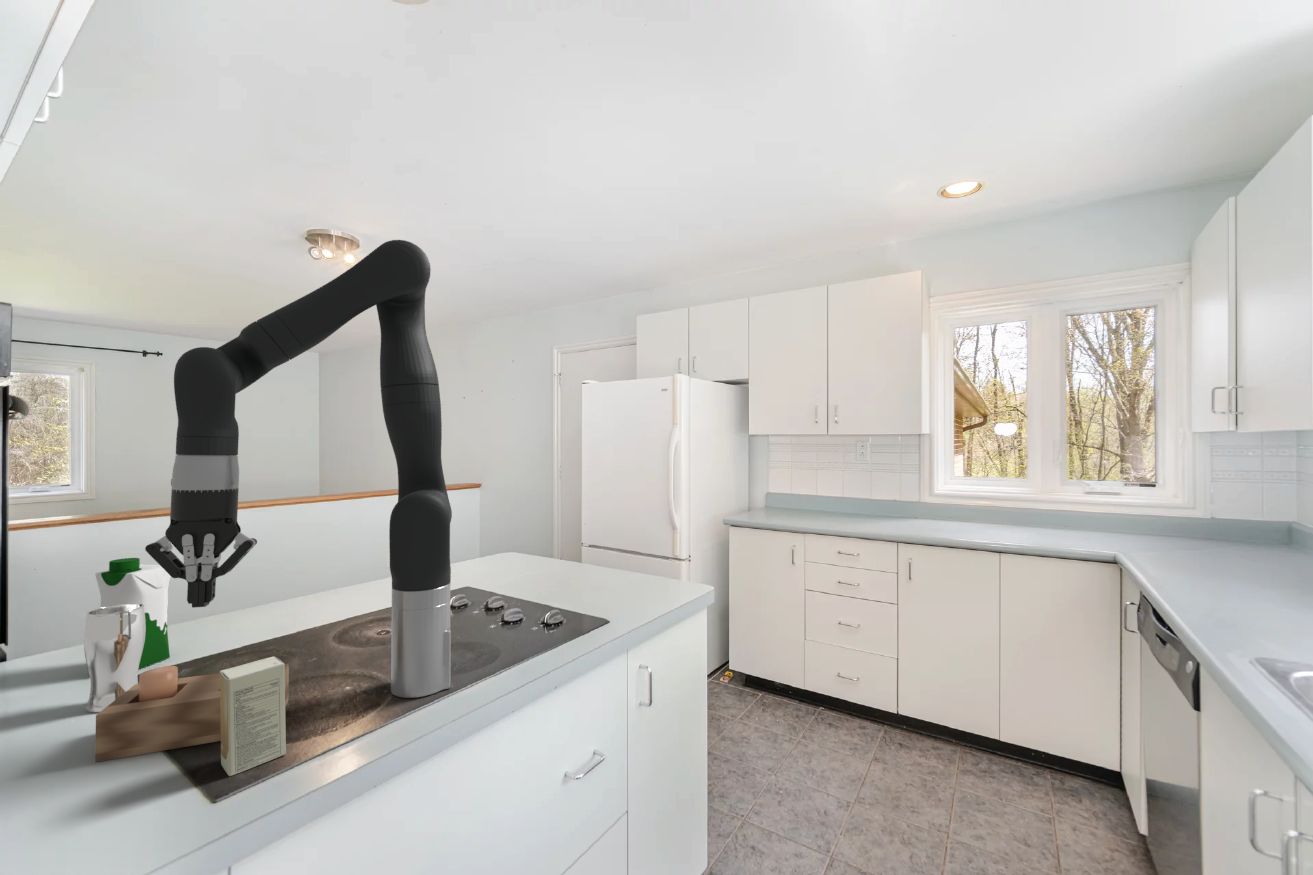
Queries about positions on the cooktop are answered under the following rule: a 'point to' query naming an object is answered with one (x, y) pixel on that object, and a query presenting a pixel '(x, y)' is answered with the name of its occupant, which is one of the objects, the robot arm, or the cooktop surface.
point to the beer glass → (113, 651)
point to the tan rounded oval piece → (158, 683)
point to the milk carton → (140, 601)
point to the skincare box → (252, 714)
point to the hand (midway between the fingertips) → (200, 605)
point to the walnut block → (163, 719)
